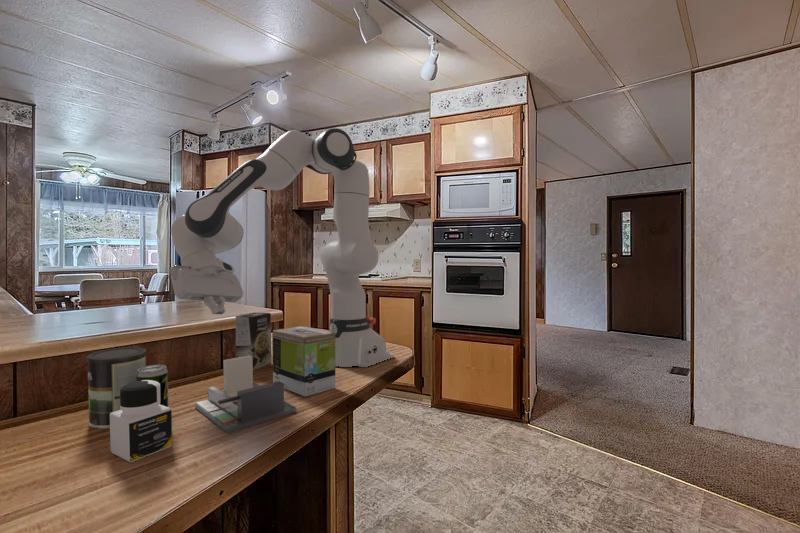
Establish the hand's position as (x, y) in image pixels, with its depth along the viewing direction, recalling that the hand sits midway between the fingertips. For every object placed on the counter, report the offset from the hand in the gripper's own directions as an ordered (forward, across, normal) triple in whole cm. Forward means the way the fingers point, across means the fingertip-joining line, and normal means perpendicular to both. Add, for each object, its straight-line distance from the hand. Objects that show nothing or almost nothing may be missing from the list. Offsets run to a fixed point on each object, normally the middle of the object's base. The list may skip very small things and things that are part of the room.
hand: (219, 313), depth 108 cm
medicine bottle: (+28, -28, +2) cm, 40 cm away
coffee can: (+17, -21, +15) cm, 31 cm away
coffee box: (+11, +20, +13) cm, 27 cm away
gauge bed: (+27, -8, -4) cm, 28 cm away
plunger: (+26, -10, -4) cm, 28 cm away
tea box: (+26, +11, -7) cm, 29 cm away
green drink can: (+23, -21, +6) cm, 32 cm away
